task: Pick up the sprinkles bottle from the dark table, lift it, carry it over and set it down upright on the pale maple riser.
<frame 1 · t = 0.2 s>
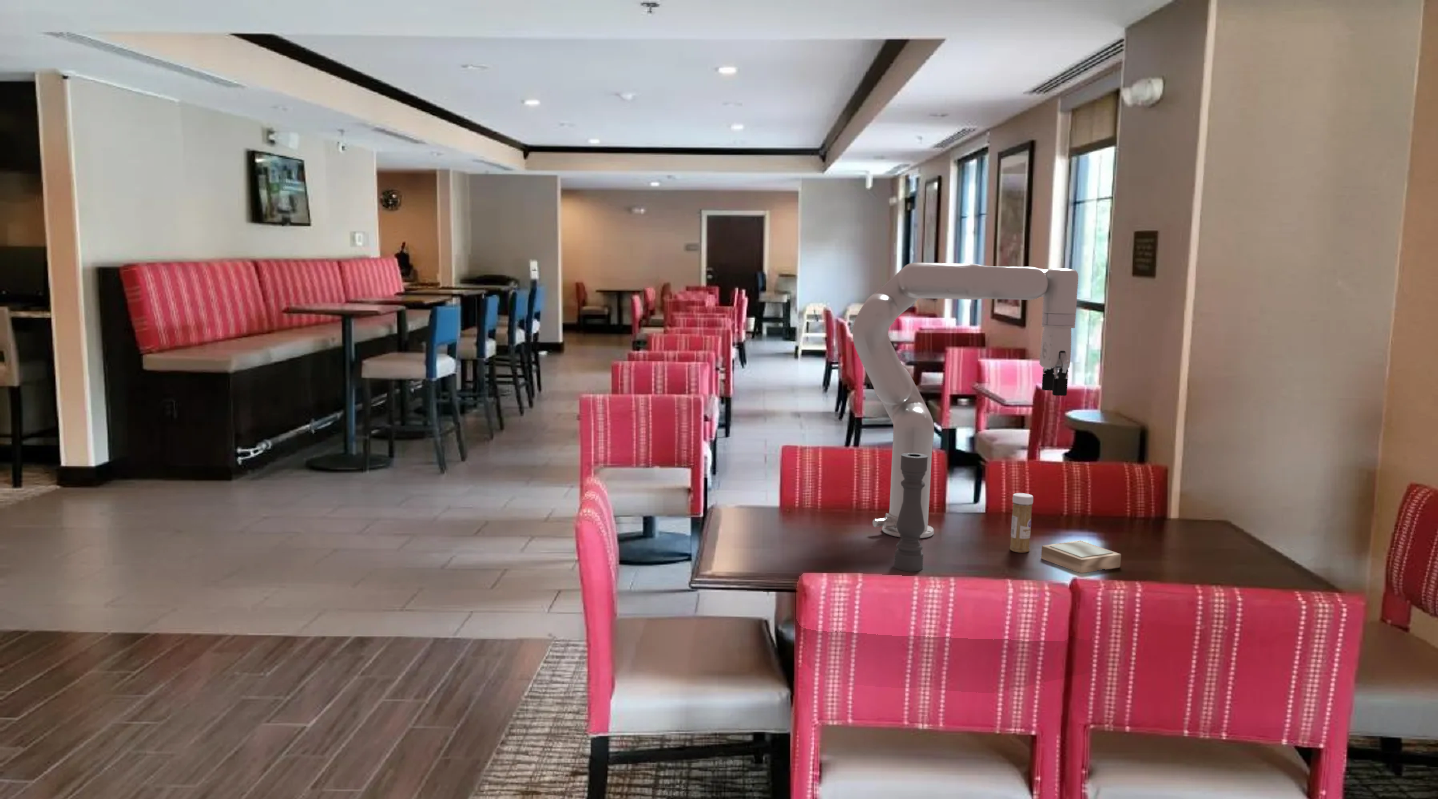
hand: (1053, 392, 248), 36 cm above the table, tool pointing down, fingers open, 9 cm apart
riser: (1080, 562, 235), on the table
candle holder: (908, 568, 228), on the table
sprinkles bottle: (1019, 551, 244), on the table
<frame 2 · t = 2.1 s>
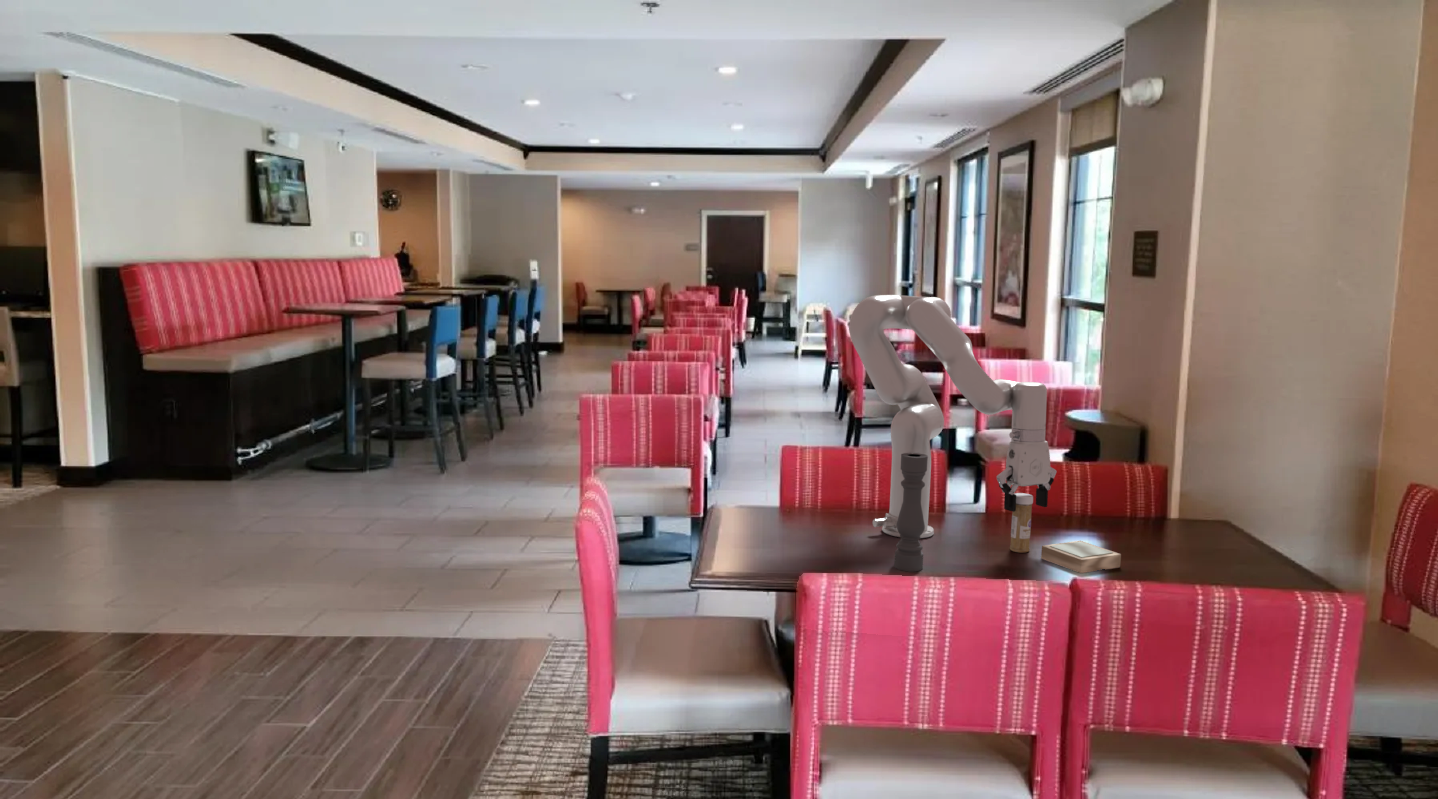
hand: (1025, 508, 242), 10 cm above the table, tool pointing down, fingers open, 9 cm apart
nothing on the table moved.
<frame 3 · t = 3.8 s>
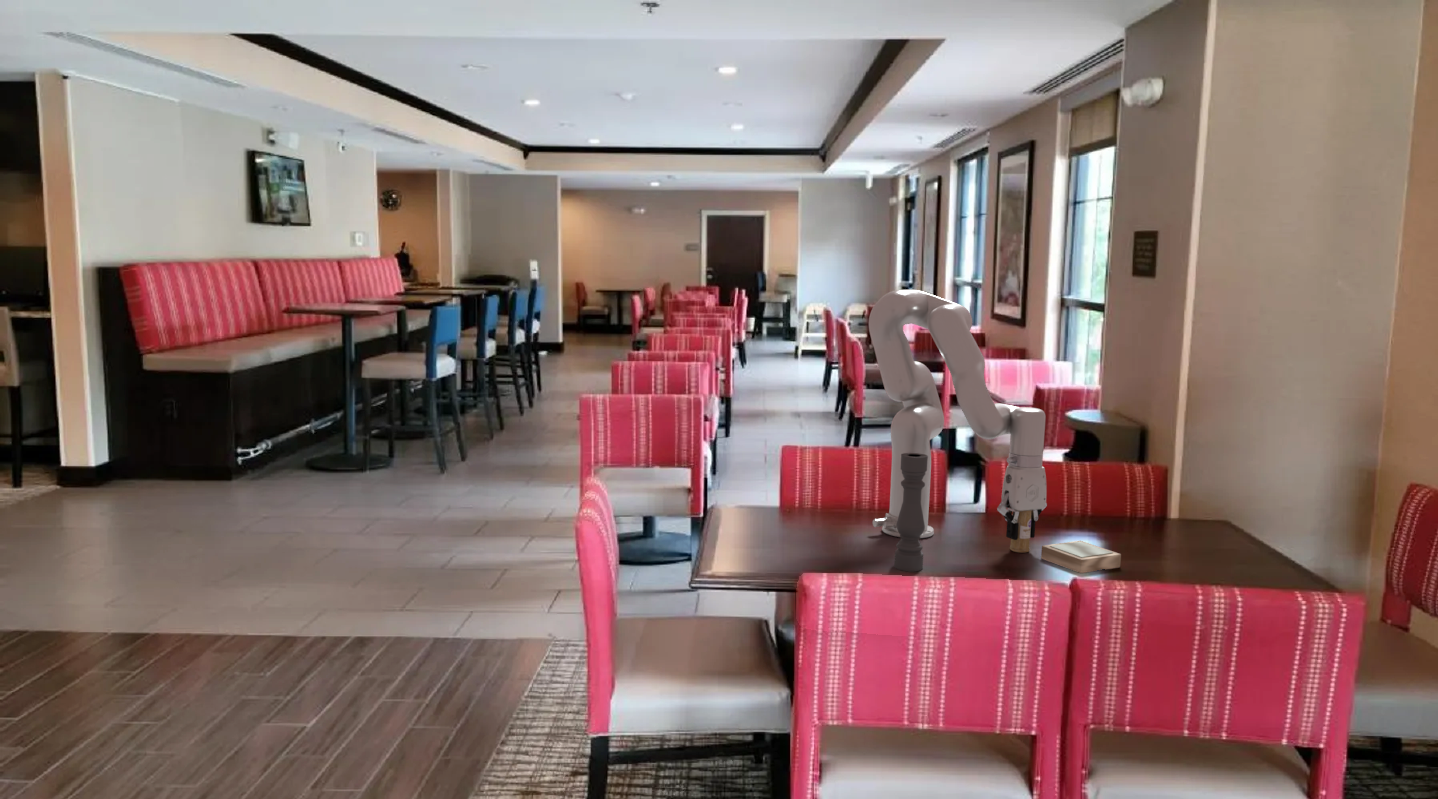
hand: (1020, 536, 243), 3 cm above the table, tool pointing down, fingers closed on sprinkles bottle, 4 cm apart
sprinkles bottle: (1019, 551, 244), on the table, touching gripper
everything else where it was.
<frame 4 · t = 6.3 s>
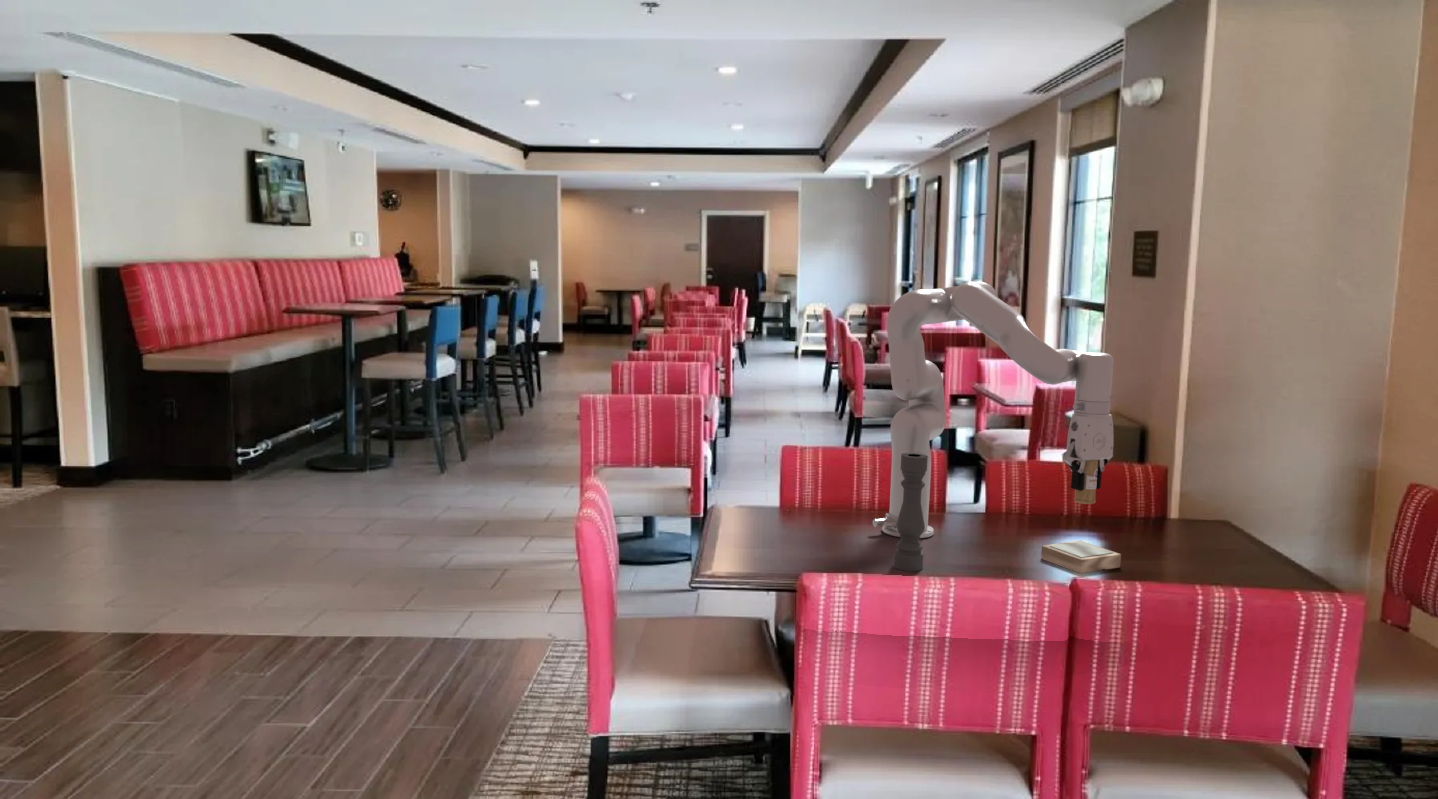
hand: (1085, 487, 232), 17 cm above the table, tool pointing down, fingers closed on sprinkles bottle, 4 cm apart
sprinkles bottle: (1084, 503, 233), point 14 cm above the table, touching gripper
everything else where it was.
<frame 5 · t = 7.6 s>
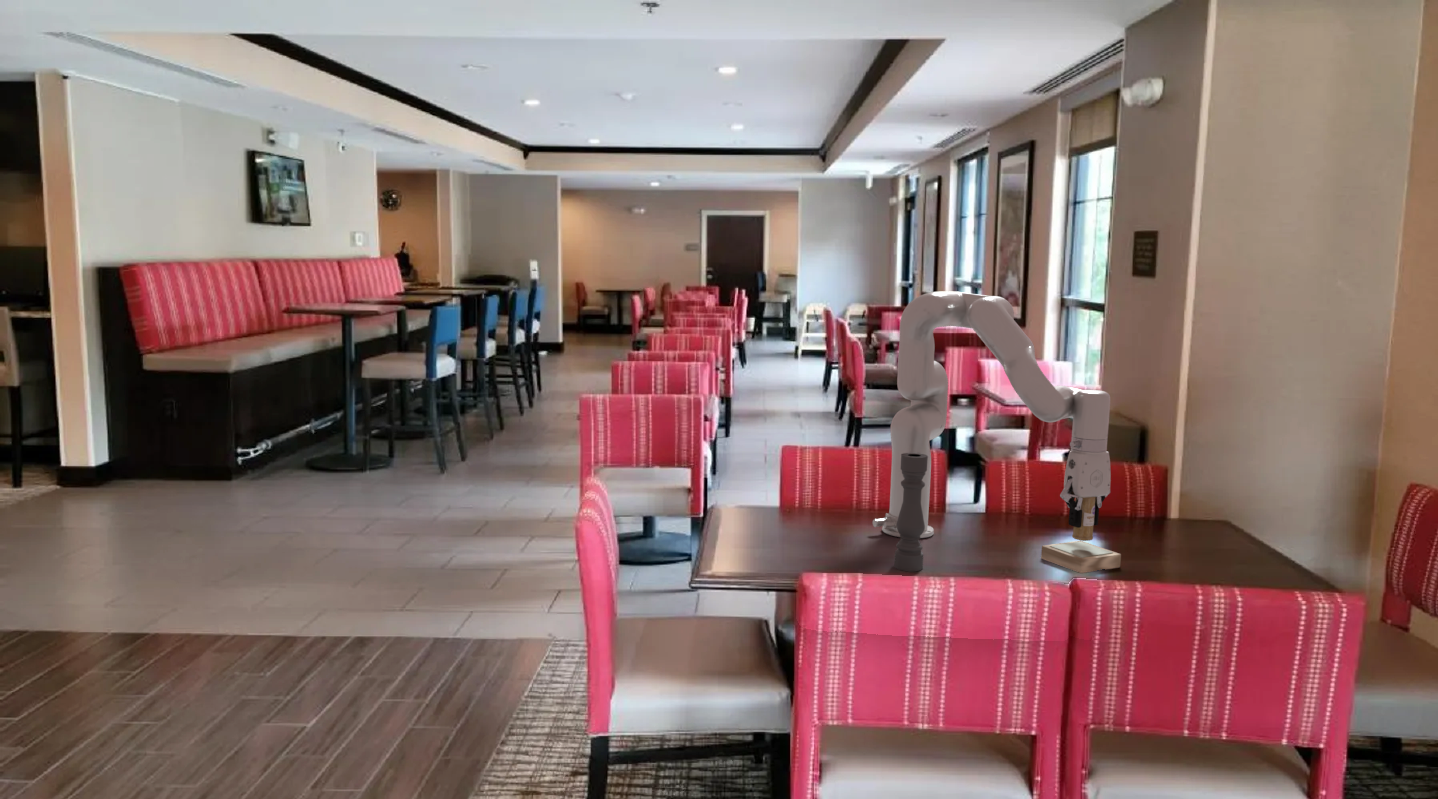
hand: (1083, 524, 234), 9 cm above the table, tool pointing down, fingers closed on sprinkles bottle, 4 cm apart
sprinkles bottle: (1082, 539, 234), point 5 cm above the table, touching gripper
everything else where it was.
when the fingers open (7 cm above the table, at t = 8.7 s): sprinkles bottle stays where it is, resting on riser.
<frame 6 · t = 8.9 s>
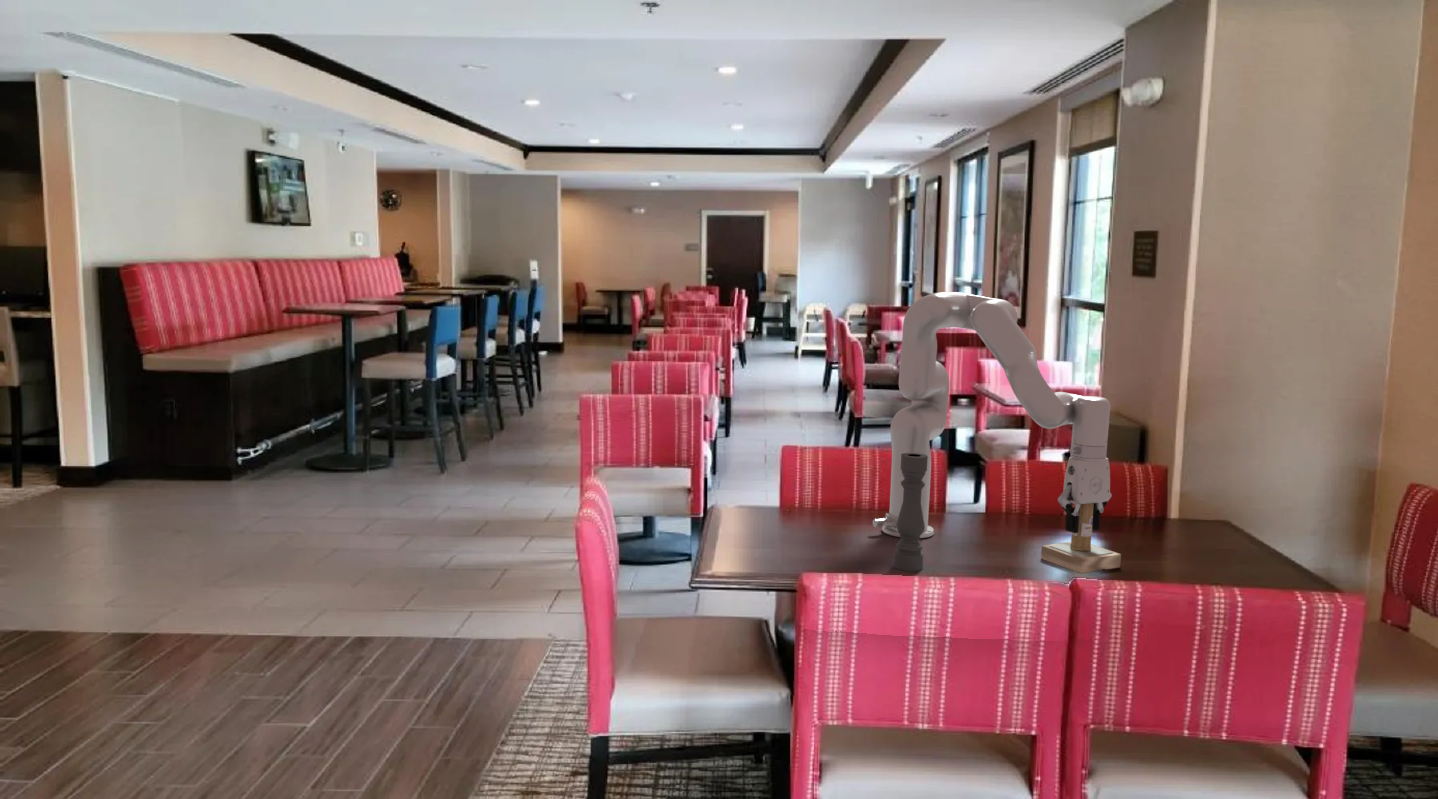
hand: (1082, 529, 234), 8 cm above the table, tool pointing down, fingers open, 6 cm apart
sprinkles bottle: (1080, 549, 235), point 3 cm above the table, touching riser
everything else where it was.
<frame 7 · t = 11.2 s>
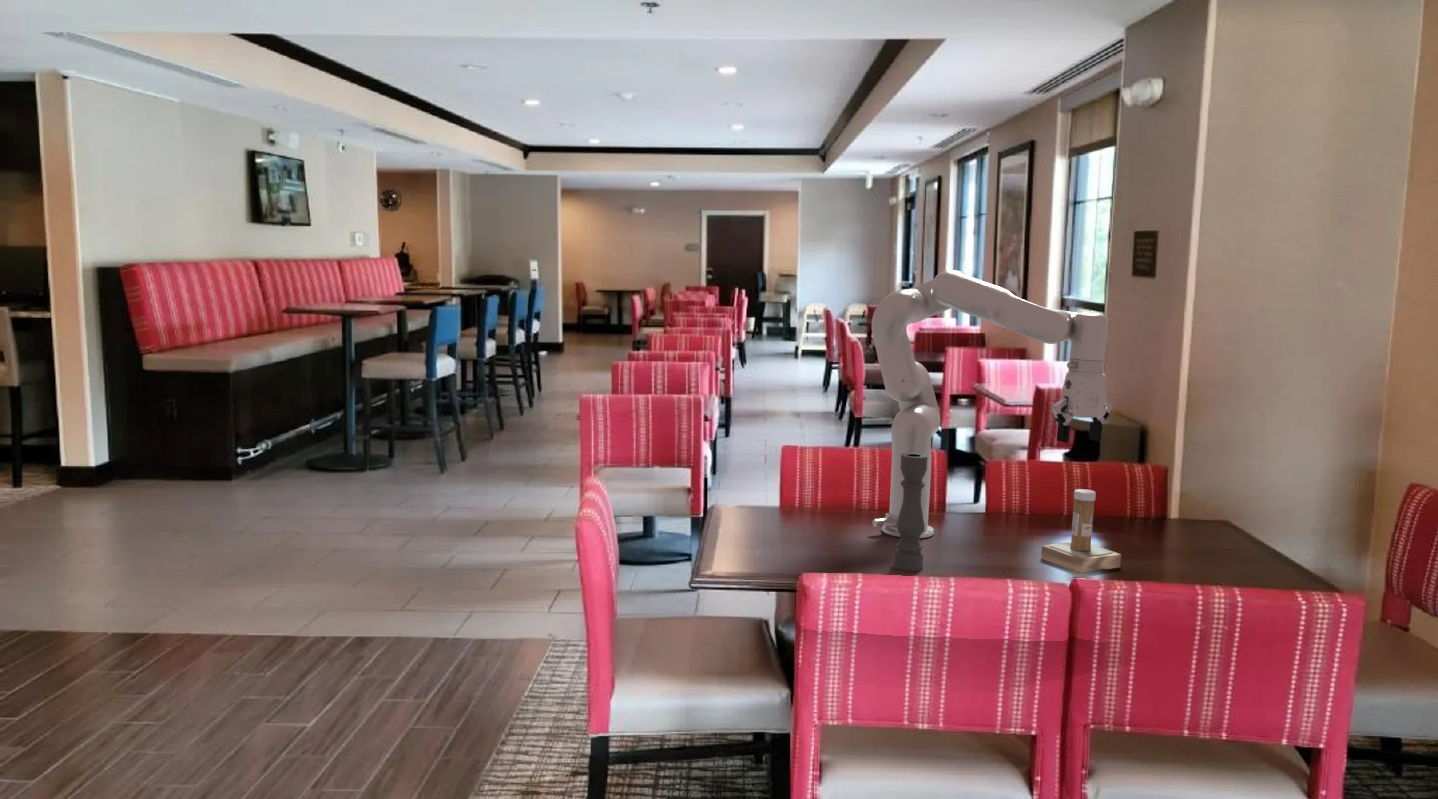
hand: (1078, 441, 238), 27 cm above the table, tool pointing down, fingers open, 9 cm apart
nothing on the table moved.
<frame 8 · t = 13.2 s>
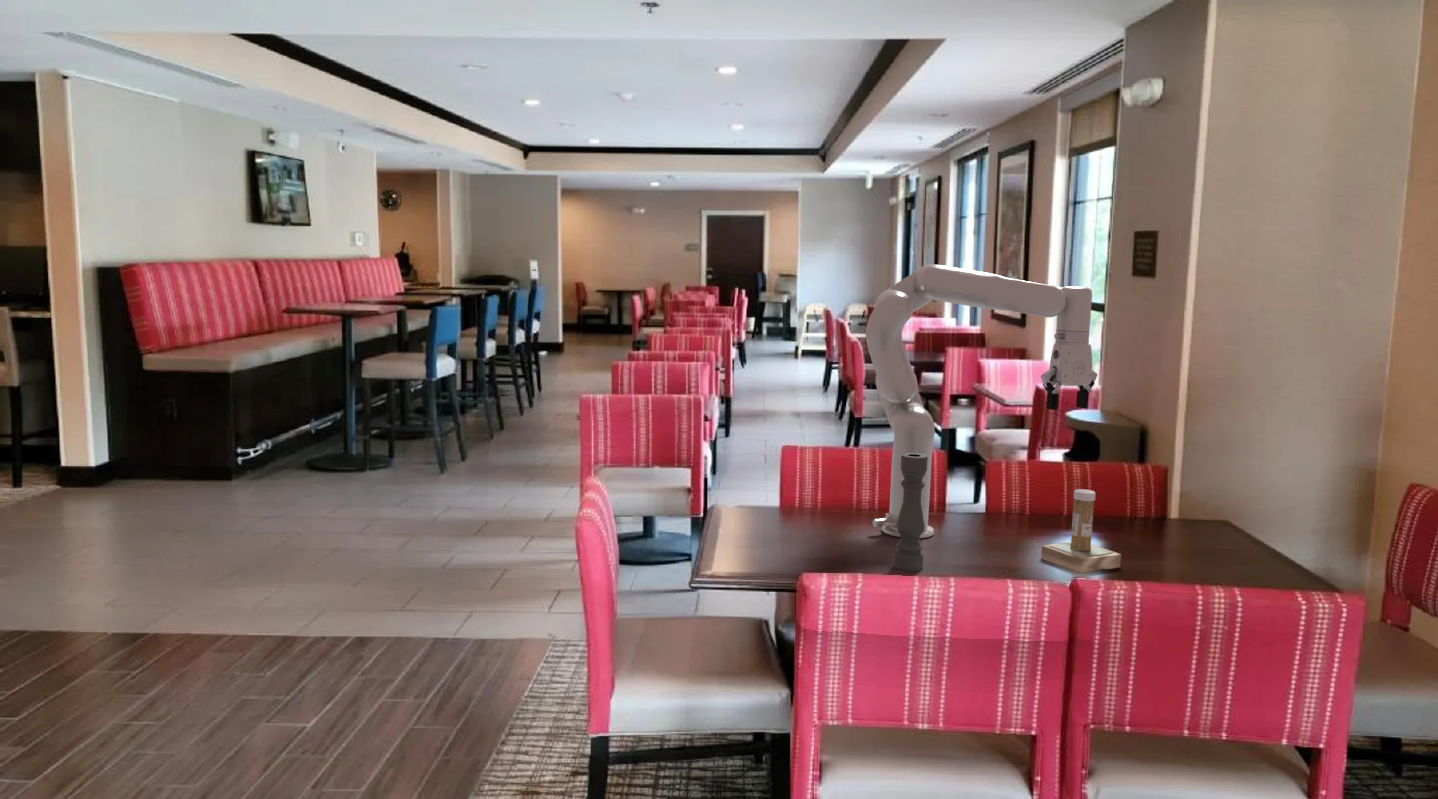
hand: (1067, 408, 251), 32 cm above the table, tool pointing down, fingers open, 9 cm apart
nothing on the table moved.
at the end: sprinkles bottle inside the target area on the riser (0.1 cm from its centre), point 3.0 cm above the riser's base; sprinkles bottle tilted 0°; the gripper is holding nothing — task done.
